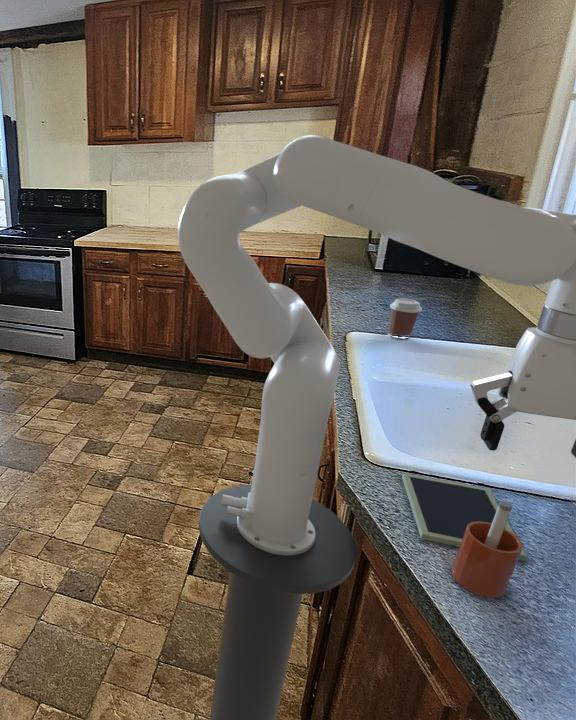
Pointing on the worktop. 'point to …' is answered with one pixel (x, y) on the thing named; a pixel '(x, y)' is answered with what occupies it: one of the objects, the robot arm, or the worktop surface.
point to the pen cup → (485, 561)
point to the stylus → (498, 524)
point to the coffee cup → (403, 316)
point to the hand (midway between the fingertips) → (533, 452)
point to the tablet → (449, 508)
